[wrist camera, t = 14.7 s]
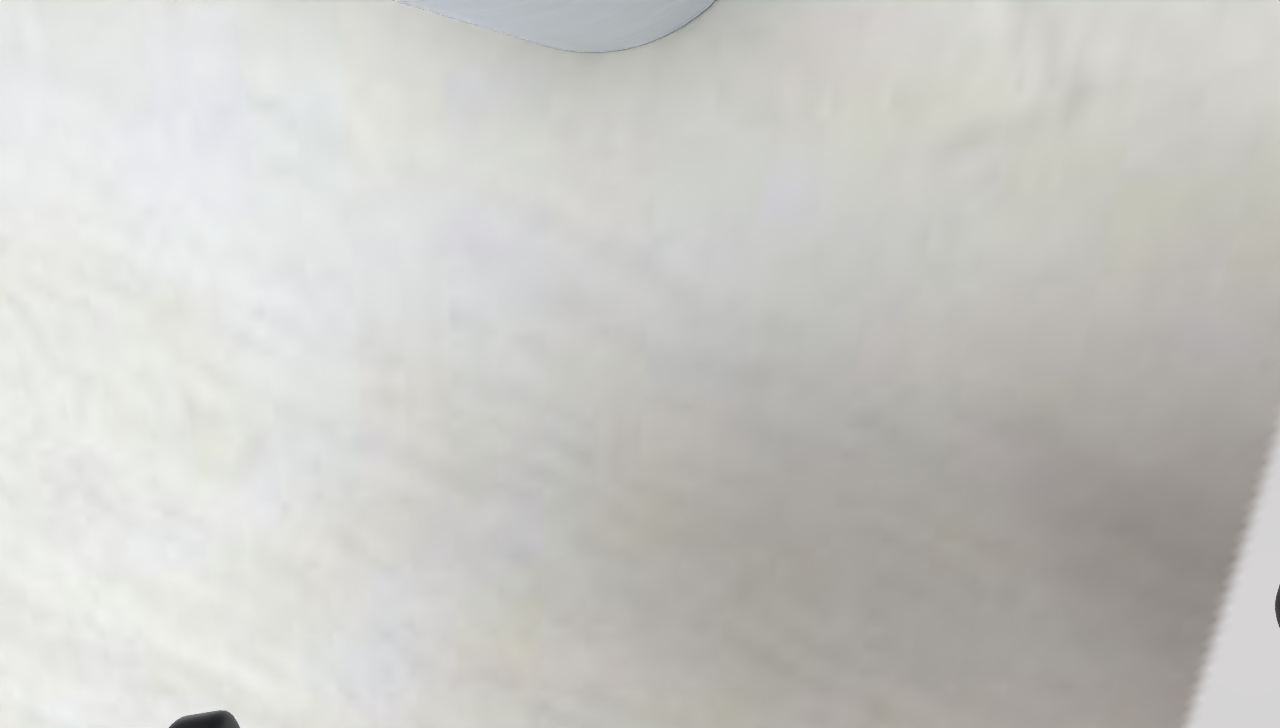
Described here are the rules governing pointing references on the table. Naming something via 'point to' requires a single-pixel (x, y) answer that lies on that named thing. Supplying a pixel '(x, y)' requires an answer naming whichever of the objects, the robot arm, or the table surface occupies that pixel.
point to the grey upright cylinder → (573, 20)
